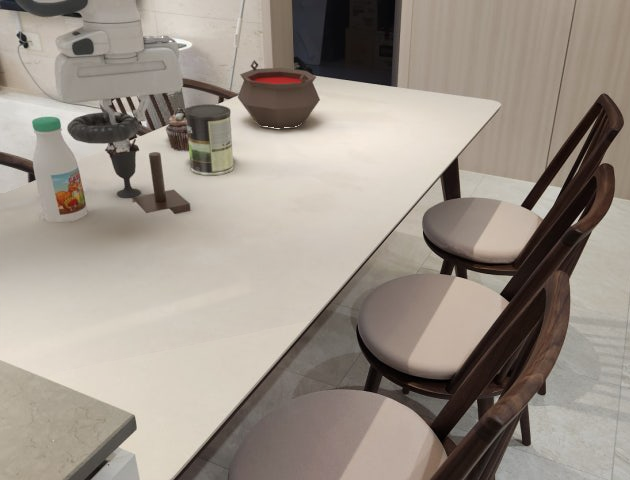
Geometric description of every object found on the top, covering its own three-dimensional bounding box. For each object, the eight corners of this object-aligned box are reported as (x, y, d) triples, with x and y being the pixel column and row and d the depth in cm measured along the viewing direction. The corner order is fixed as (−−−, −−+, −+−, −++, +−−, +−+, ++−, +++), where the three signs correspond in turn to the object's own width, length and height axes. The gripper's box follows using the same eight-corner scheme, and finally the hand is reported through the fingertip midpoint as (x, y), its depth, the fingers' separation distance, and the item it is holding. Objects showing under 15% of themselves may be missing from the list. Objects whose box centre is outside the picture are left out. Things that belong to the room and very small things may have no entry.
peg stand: (147, 219, 127) (139, 164, 121) (132, 203, 133) (124, 150, 127) (190, 210, 131) (184, 156, 126) (174, 195, 138) (168, 144, 132)
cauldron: (336, 124, 190) (337, 67, 182) (275, 139, 175) (273, 79, 166) (283, 107, 204) (281, 54, 196) (222, 121, 188) (217, 63, 180)
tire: (79, 149, 102) (75, 132, 101) (63, 131, 110) (59, 115, 109) (148, 139, 108) (146, 123, 107) (128, 122, 116) (126, 107, 115)
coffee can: (189, 176, 148) (183, 116, 141) (191, 161, 157) (185, 104, 150) (234, 175, 150) (230, 115, 143) (233, 160, 159) (230, 103, 152)
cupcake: (197, 138, 173) (193, 101, 168) (211, 148, 166) (207, 110, 161) (162, 143, 168) (157, 105, 163) (175, 153, 161) (170, 114, 156)
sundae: (106, 193, 137) (94, 124, 130) (134, 185, 142) (124, 118, 134) (122, 202, 134) (111, 132, 126) (150, 193, 138) (141, 125, 131)
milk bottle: (45, 230, 120) (21, 126, 110) (45, 215, 126) (22, 115, 116) (89, 225, 123) (69, 123, 113) (87, 210, 129) (68, 112, 119)
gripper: (170, 31, 111) (179, 110, 118) (44, 39, 101) (62, 125, 108) (183, 37, 107) (192, 119, 114) (53, 46, 96) (71, 135, 103)
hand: (128, 122), depth 111 cm, fingers closed on tire, 3 cm apart
